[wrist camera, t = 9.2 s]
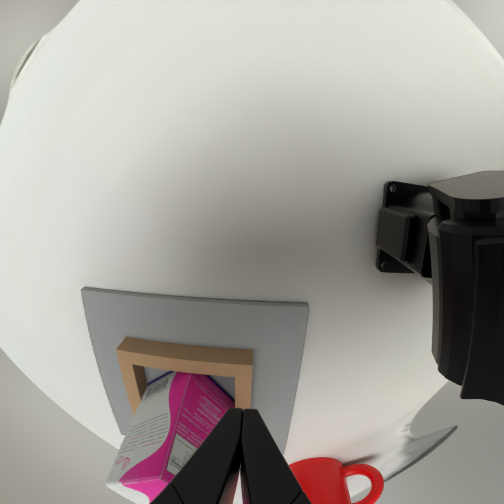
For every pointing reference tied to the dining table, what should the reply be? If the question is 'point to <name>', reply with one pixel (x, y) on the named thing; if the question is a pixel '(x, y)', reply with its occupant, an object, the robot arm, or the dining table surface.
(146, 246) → the dining table surface
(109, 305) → the holder
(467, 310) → the robot arm
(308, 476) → the mug
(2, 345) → the dining table surface
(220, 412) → the supplement box
